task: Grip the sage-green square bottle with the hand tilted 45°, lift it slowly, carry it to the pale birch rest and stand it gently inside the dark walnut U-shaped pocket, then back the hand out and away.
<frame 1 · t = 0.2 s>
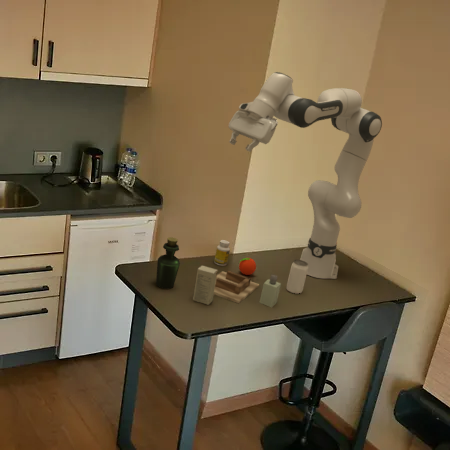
hand: (239, 147, 213), 54 cm above the table, tool tilted 30°, fingers open, 8 cm apart
u rest: (230, 287, 231), on the table
can: (293, 290, 240), on the table
skincare box: (202, 301, 216), on the table
sage bottle: (267, 302, 225), on the table
potion bottle: (164, 285, 222), on the table
clementine: (244, 274, 246), on the table
supplement bottle: (220, 263, 252), on the table
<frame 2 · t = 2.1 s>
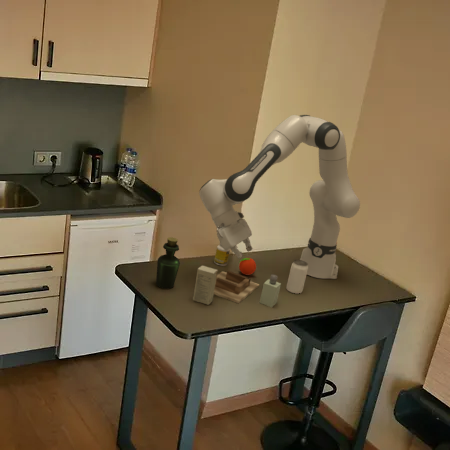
hand: (245, 253, 224), 15 cm above the table, tool tilted 45°, fingers open, 8 cm apart
nothing on the table moved.
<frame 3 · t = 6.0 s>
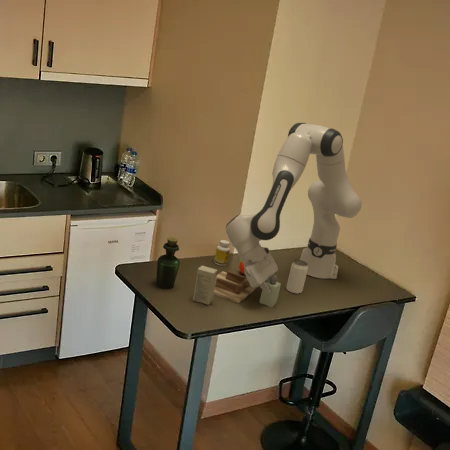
hand: (272, 290, 223), 5 cm above the table, tool tilted 45°, fingers closed on sage bottle, 5 cm apart
sage bottle: (267, 302, 225), on the table, touching gripper
everything else where it was.
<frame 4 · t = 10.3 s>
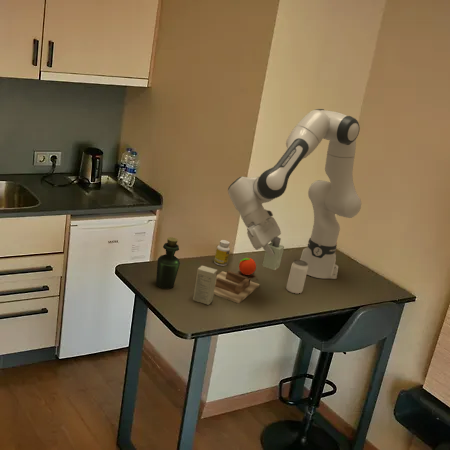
hand: (275, 253, 219), 19 cm above the table, tool tilted 45°, fingers closed on sage bottle, 5 cm apart
sage bottle: (270, 266, 221), point 14 cm above the table, touching gripper
everything else where it was.
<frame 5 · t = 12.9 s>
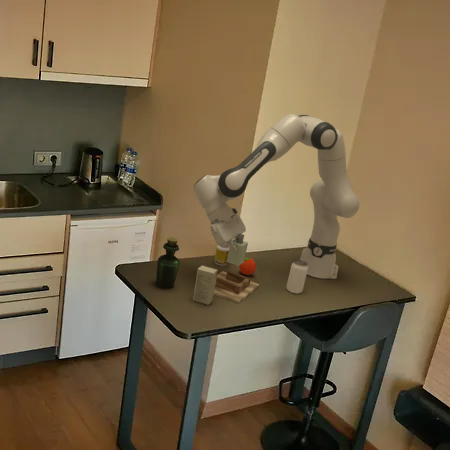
hand: (239, 249, 226), 16 cm above the table, tool tilted 45°, fingers closed on sage bottle, 5 cm apart
sage bottle: (235, 262, 228), point 11 cm above the table, touching gripper
everything else where it was.
when the fingers open (8 cm above the table, at t = 15.0 s): sage bottle drops 1 cm, resting on u rest.
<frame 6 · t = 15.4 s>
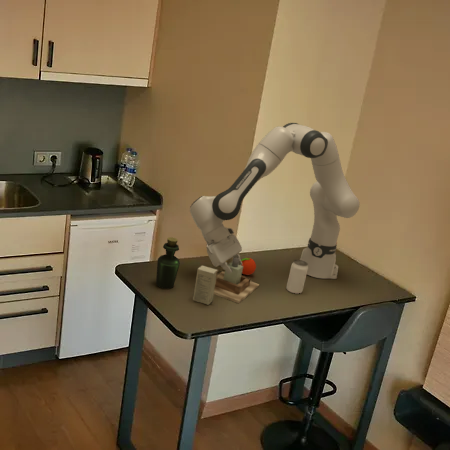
hand: (235, 269, 228), 8 cm above the table, tool tilted 45°, fingers open, 8 cm apart
sage bottle: (230, 285, 231), point 1 cm above the table, touching u rest
everything else where it was.
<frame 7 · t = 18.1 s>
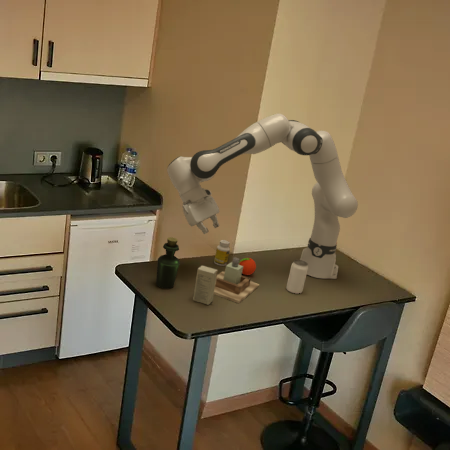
hand: (212, 230, 230), 20 cm above the table, tool tilted 45°, fingers open, 8 cm apart
nothing on the table moved.
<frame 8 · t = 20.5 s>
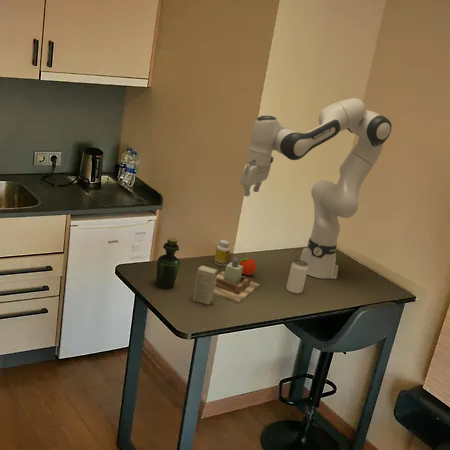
hand: (251, 193, 233), 34 cm above the table, tool pointing down, fingers open, 8 cm apart
nothing on the table moved.
at the end: sage bottle 0.1 cm off-centre on the u rest, point 1.0 cm above the u rest's base; sage bottle tilted 0°; the gripper is holding nothing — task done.
